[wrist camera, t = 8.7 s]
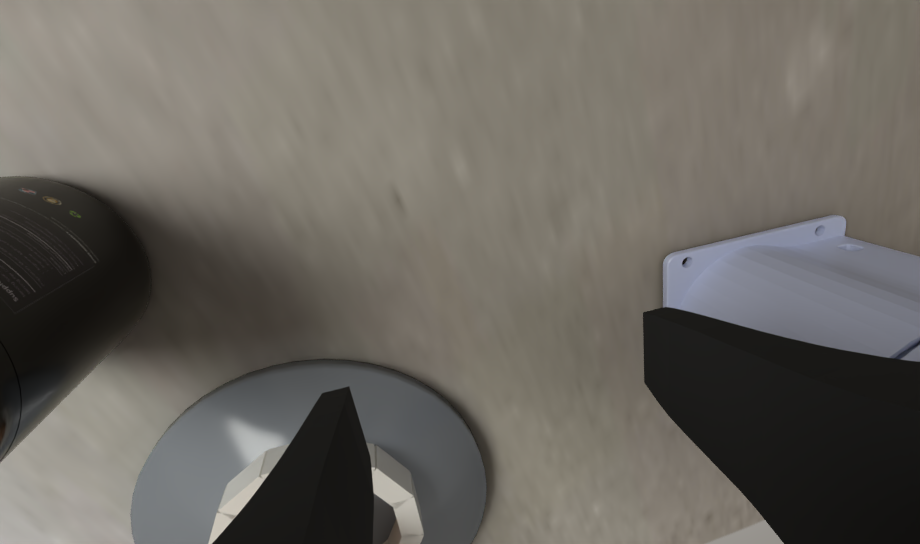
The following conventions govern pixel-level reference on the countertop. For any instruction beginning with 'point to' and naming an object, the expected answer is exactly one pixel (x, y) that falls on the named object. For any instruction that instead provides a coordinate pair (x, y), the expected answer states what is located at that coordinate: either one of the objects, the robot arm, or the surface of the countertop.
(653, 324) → the robot arm
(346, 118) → the countertop surface
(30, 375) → the supplement bottle
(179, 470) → the tray
